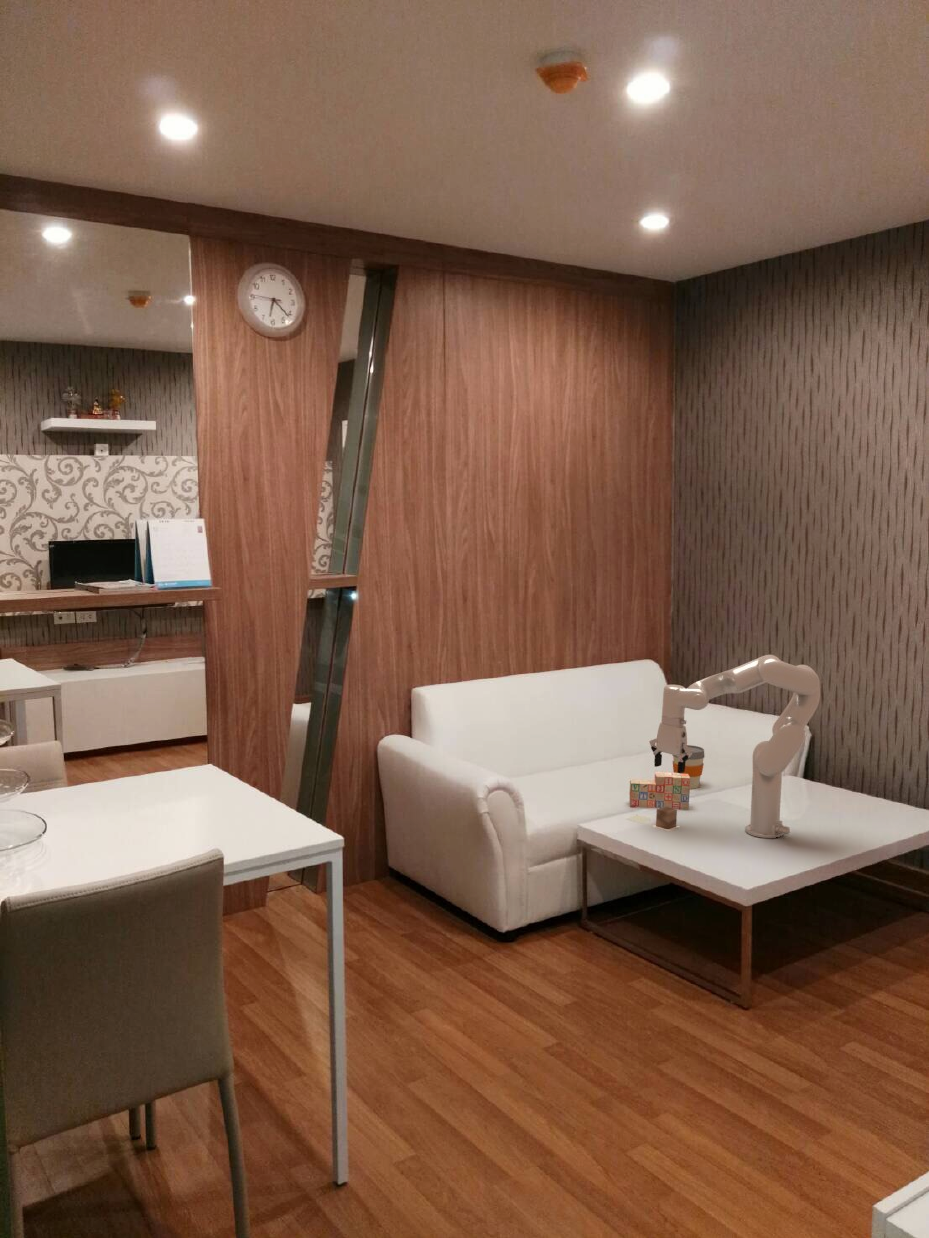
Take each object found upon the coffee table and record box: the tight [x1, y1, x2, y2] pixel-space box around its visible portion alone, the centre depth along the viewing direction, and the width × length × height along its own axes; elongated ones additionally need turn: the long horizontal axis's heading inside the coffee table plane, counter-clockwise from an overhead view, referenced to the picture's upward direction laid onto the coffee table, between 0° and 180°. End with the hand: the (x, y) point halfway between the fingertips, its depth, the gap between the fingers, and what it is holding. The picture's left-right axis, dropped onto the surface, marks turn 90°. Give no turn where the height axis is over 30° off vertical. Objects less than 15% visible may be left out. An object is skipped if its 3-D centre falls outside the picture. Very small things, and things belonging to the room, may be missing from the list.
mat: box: [626, 814, 681, 832], centre depth 354 cm, size 21×16×1 cm
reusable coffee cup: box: [672, 744, 705, 790], centre depth 400 cm, size 12×12×15 cm
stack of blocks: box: [629, 771, 691, 811], centre depth 373 cm, size 21×6×12 cm, turn 83°
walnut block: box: [655, 806, 678, 830], centre depth 350 cm, size 5×5×6 cm
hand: (669, 769), depth 349 cm, fingers open, 9 cm apart
